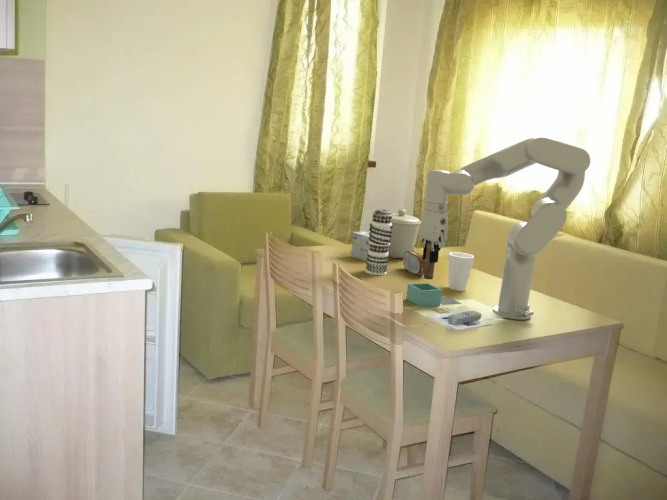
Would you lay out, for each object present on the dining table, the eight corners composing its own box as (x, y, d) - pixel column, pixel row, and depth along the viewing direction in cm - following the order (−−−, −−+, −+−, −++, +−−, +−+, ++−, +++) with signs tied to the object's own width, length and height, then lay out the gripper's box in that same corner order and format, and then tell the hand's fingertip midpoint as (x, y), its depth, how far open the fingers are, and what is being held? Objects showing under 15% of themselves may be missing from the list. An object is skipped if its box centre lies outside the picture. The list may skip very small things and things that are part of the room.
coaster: (461, 305, 241) (461, 303, 241) (442, 306, 238) (442, 304, 237) (448, 298, 248) (448, 296, 248) (429, 299, 244) (429, 297, 244)
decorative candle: (375, 268, 282) (381, 207, 276) (392, 274, 275) (399, 211, 270) (359, 270, 275) (366, 208, 270) (377, 276, 269) (384, 212, 263)
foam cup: (469, 293, 258) (474, 259, 255) (444, 289, 259) (448, 255, 257) (469, 287, 267) (474, 254, 264) (445, 283, 268) (449, 250, 266)
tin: (425, 277, 275) (427, 257, 273) (418, 277, 273) (420, 257, 272) (407, 267, 288) (410, 248, 286) (400, 267, 287) (403, 248, 285)
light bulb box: (379, 260, 296) (381, 235, 294) (368, 262, 291) (370, 236, 289) (361, 254, 303) (363, 230, 301) (350, 256, 299) (352, 231, 296)
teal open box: (439, 306, 237) (442, 289, 236) (419, 308, 233) (421, 290, 232) (426, 299, 244) (428, 283, 243) (405, 300, 240) (407, 283, 239)
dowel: (434, 279, 236) (438, 244, 233) (426, 279, 234) (430, 244, 232) (429, 276, 239) (433, 242, 236) (421, 277, 237) (425, 242, 235)
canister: (397, 262, 296) (403, 213, 291) (367, 252, 308) (373, 206, 304) (425, 258, 308) (431, 212, 303) (395, 249, 321) (400, 204, 316)
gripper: (459, 211, 226) (453, 266, 230) (431, 203, 240) (425, 255, 244) (440, 211, 222) (434, 267, 226) (412, 203, 237) (407, 255, 241)
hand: (430, 260), depth 235 cm, fingers closed on dowel, 3 cm apart
